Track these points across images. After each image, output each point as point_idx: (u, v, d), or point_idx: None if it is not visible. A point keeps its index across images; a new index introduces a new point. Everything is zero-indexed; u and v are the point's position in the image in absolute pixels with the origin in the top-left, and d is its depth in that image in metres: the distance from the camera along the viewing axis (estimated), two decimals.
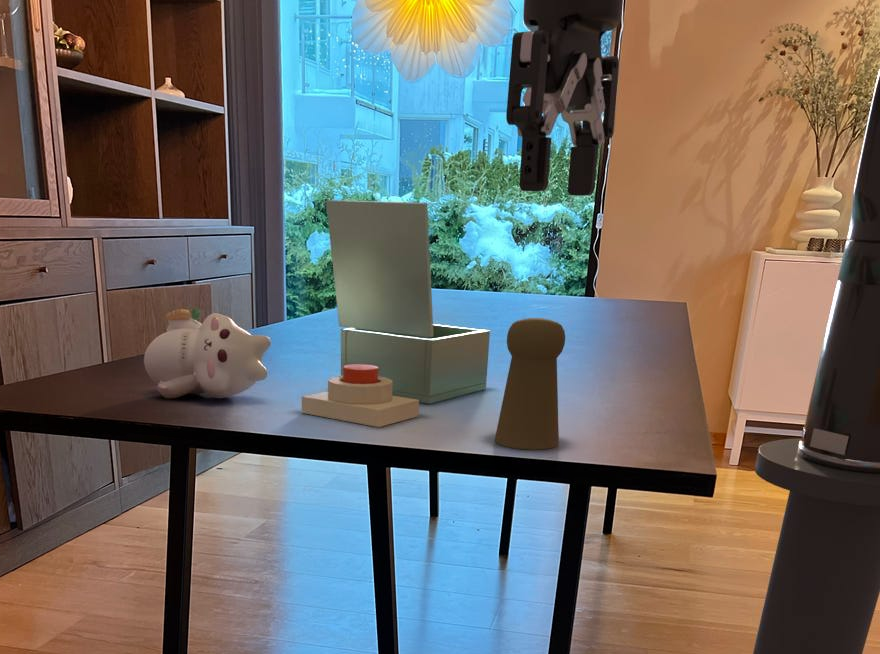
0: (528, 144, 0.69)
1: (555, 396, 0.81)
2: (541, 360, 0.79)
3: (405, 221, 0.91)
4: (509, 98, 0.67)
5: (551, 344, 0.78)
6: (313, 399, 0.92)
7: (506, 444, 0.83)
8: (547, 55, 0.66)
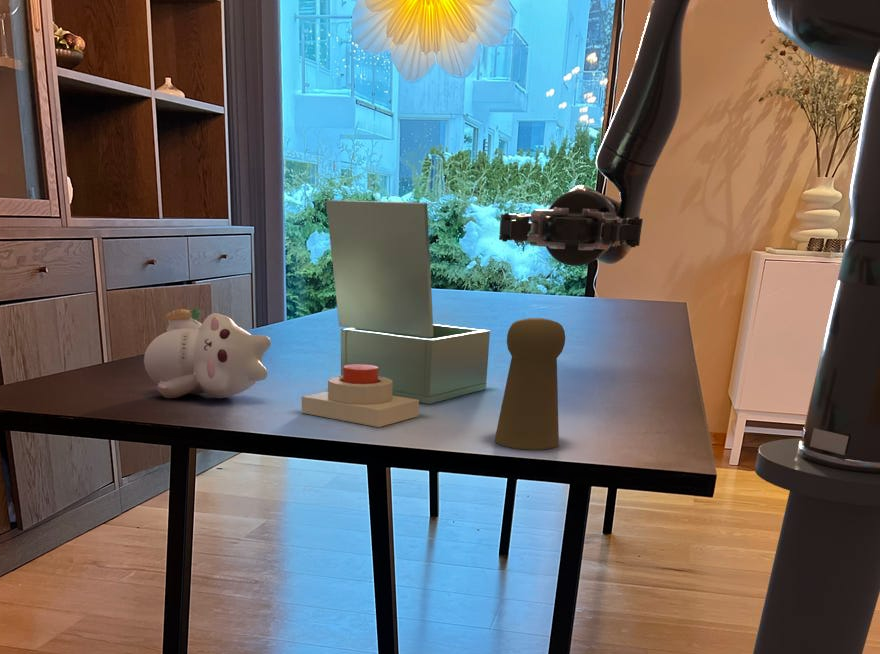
0: None
1: (555, 396, 0.81)
2: (541, 360, 0.79)
3: (405, 221, 0.91)
4: None
5: (551, 344, 0.78)
6: (313, 399, 0.92)
7: (506, 444, 0.83)
8: (520, 214, 0.95)
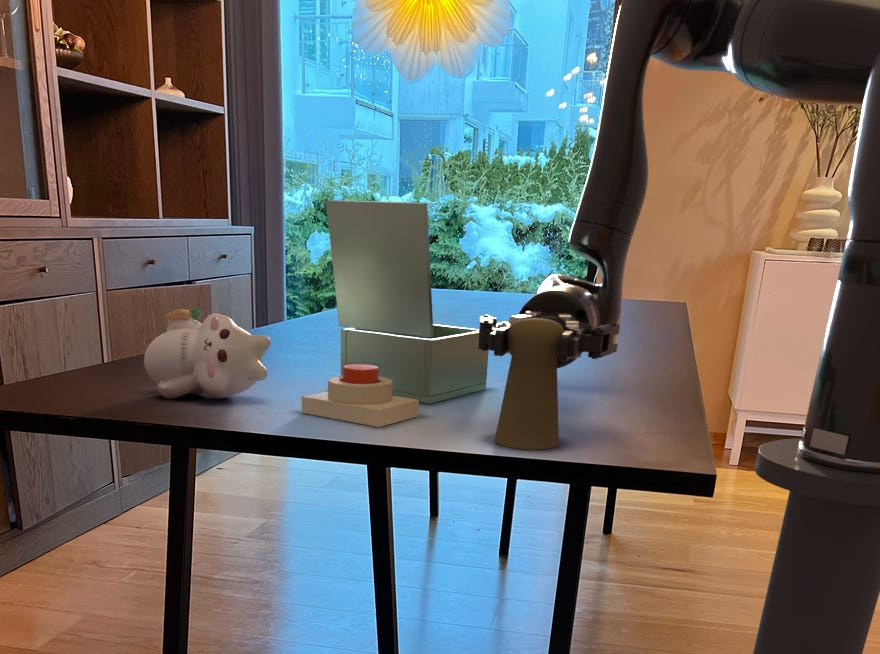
0: None
1: (555, 396, 0.81)
2: (541, 360, 0.79)
3: (405, 221, 0.91)
4: None
5: (551, 344, 0.78)
6: (313, 399, 0.92)
7: (506, 444, 0.83)
8: (491, 317, 0.87)
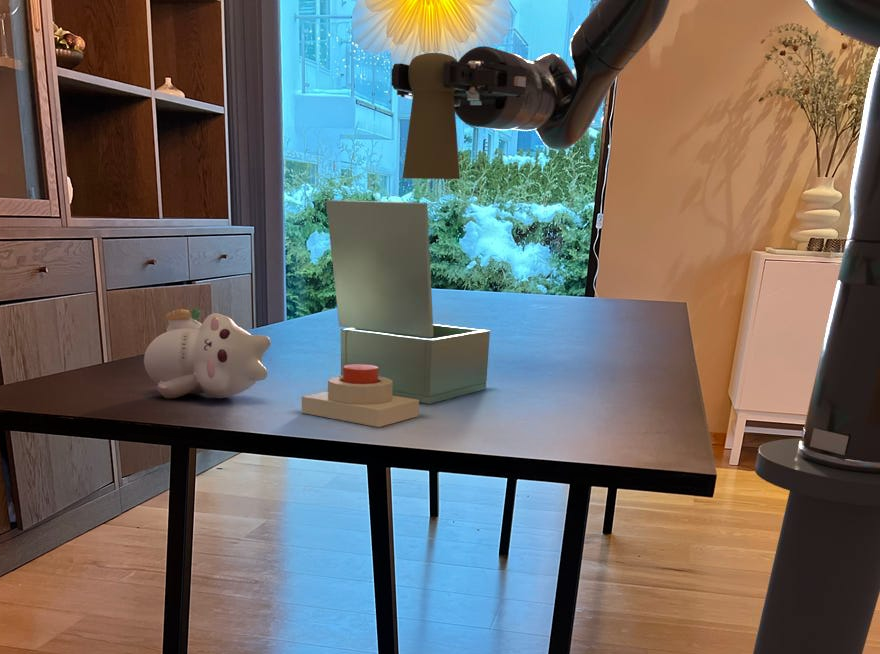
0: None
1: (449, 128, 0.90)
2: (432, 90, 0.88)
3: (405, 221, 0.91)
4: None
5: (439, 72, 0.87)
6: (313, 399, 0.92)
7: (406, 176, 0.92)
8: None
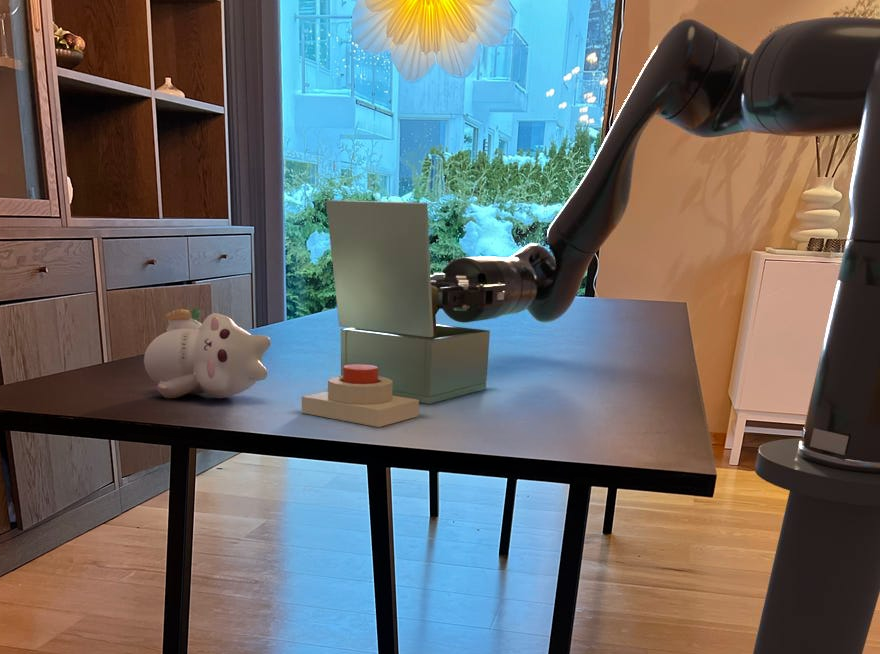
0: None
1: None
2: None
3: (405, 221, 0.91)
4: None
5: None
6: (313, 399, 0.92)
7: None
8: None
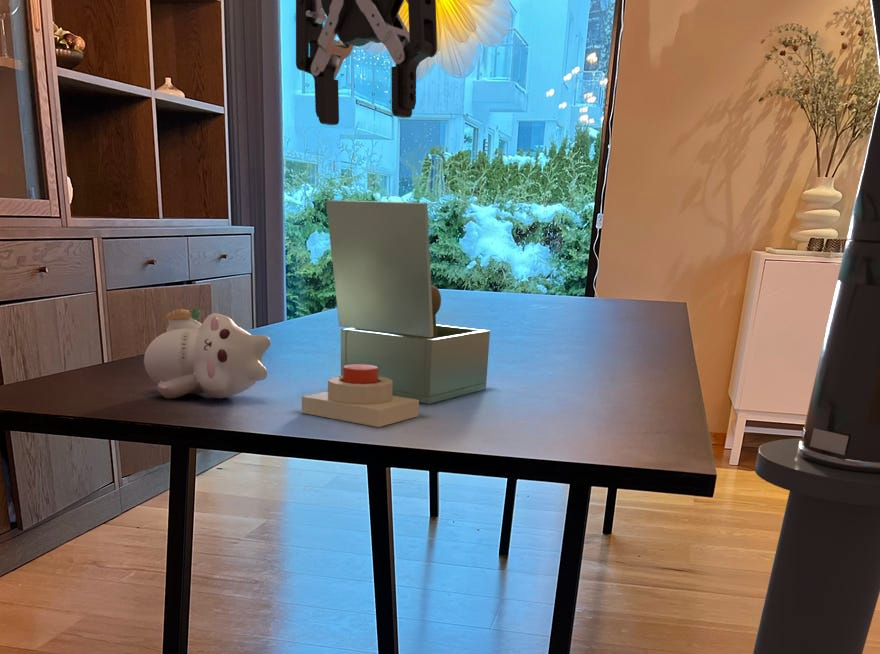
0: None
1: None
2: None
3: (405, 221, 0.91)
4: None
5: None
6: (313, 399, 0.92)
7: None
8: (305, 12, 0.81)
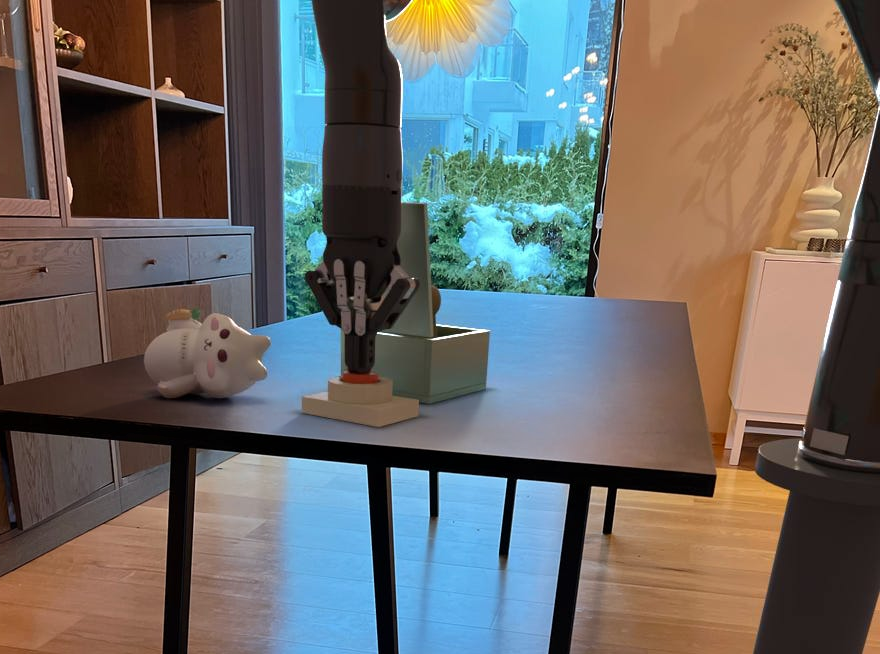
0: None
1: None
2: None
3: (405, 221, 0.91)
4: (337, 311, 0.92)
5: None
6: (313, 399, 0.92)
7: None
8: (317, 281, 0.89)
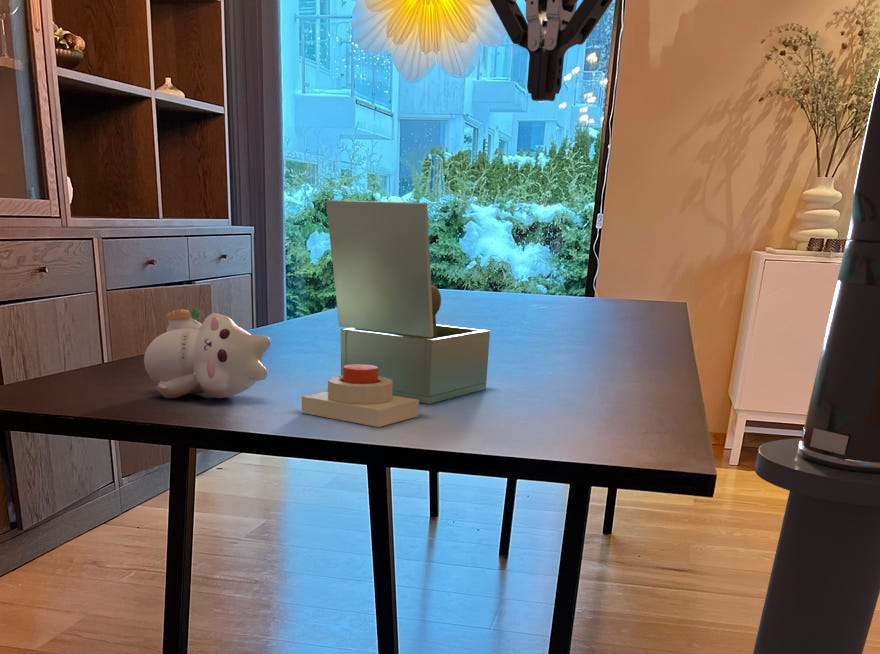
0: None
1: None
2: None
3: (405, 221, 0.91)
4: None
5: None
6: (313, 399, 0.92)
7: None
8: None
